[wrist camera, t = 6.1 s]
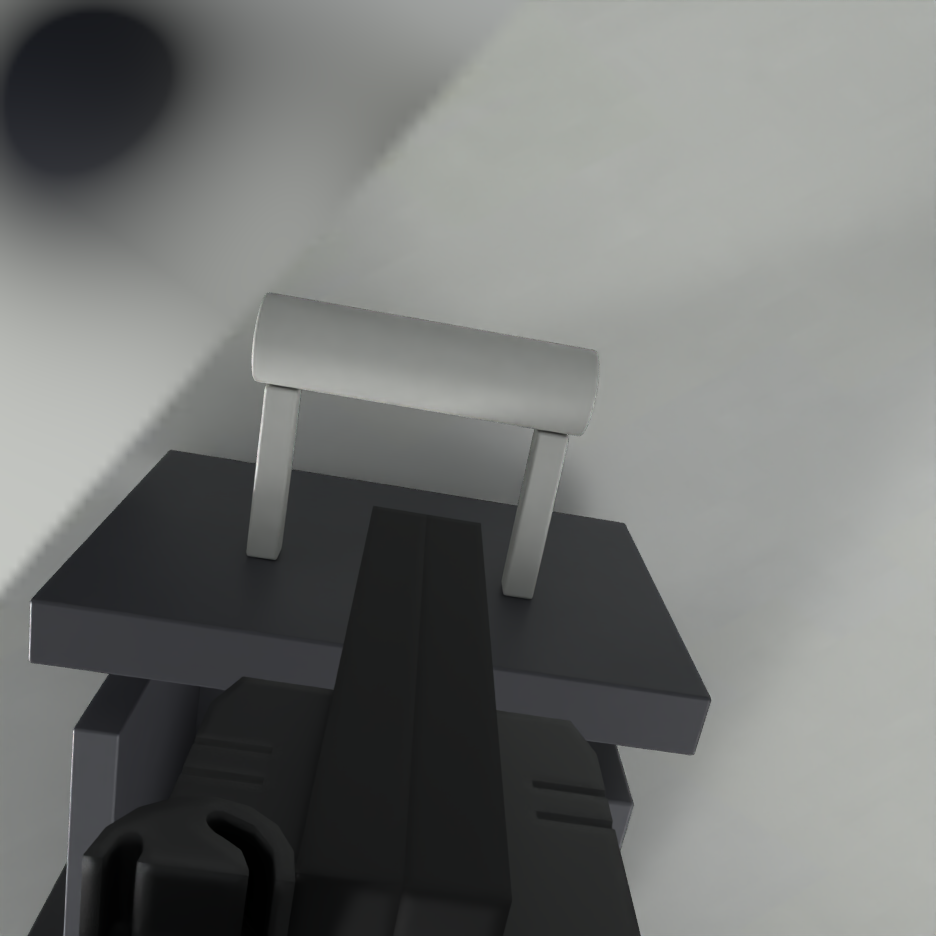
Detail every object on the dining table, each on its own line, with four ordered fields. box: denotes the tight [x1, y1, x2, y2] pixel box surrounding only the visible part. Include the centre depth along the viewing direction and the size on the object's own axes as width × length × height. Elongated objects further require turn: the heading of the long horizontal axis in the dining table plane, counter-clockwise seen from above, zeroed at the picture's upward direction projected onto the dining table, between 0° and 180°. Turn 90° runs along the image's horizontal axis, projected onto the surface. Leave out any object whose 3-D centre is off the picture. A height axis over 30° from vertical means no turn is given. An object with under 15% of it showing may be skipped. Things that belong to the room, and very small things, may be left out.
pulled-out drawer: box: [29, 293, 711, 936], centre depth 20 cm, size 18×11×8 cm, turn 170°
